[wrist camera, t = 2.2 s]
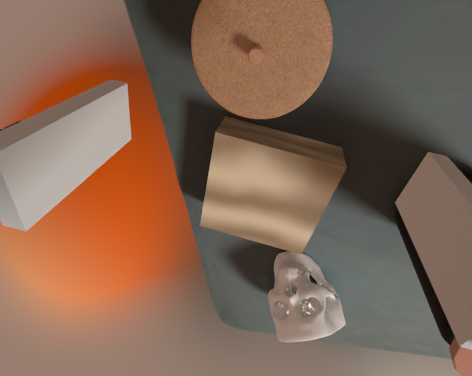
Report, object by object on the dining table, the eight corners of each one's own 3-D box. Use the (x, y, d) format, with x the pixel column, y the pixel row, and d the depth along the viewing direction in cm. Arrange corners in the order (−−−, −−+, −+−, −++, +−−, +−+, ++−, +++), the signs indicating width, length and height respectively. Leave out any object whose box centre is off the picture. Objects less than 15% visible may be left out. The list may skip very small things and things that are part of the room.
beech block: (225, 114, 33) (215, 132, 29) (341, 145, 32) (346, 167, 28) (209, 202, 41) (199, 225, 37) (301, 228, 41) (301, 254, 37)
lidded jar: (244, -59, 23) (216, -82, 16) (351, 8, 25) (372, 15, 17) (199, 62, 30) (165, 87, 22) (286, 111, 31) (281, 149, 23)
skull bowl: (315, 241, 39) (337, 339, 34) (335, 256, 50) (353, 331, 45) (249, 255, 43) (259, 344, 38) (281, 266, 55) (292, 336, 49)
